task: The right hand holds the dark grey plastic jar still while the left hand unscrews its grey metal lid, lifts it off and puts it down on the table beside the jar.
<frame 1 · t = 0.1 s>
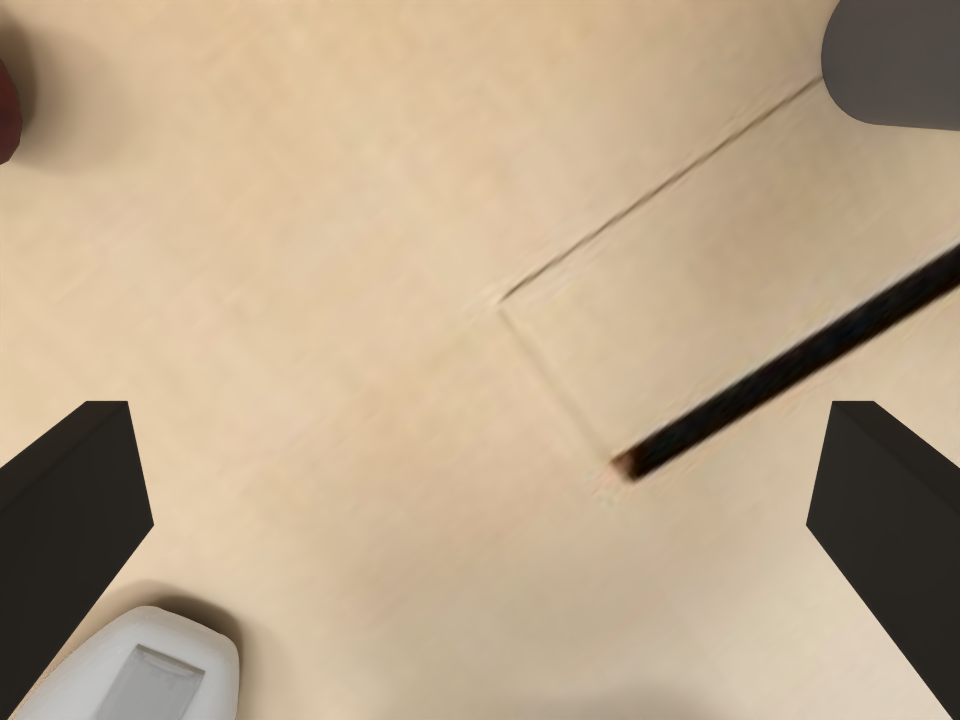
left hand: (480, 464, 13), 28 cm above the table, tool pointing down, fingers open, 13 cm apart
jar: (898, 43, 35), on the table
projector: (141, 704, 53), on the table
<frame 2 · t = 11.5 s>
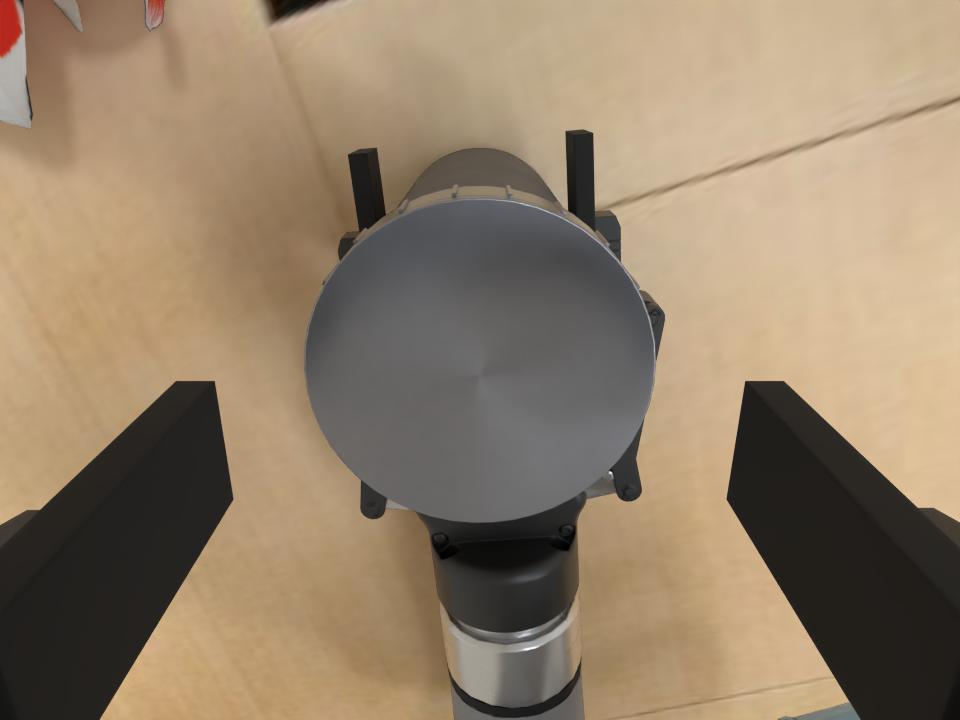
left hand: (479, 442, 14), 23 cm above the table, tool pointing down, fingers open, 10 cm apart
lid: (480, 370, 17), point 19 cm above the table, screwed on, not yet turned
jar: (480, 228, 35), on the table, touching right hand
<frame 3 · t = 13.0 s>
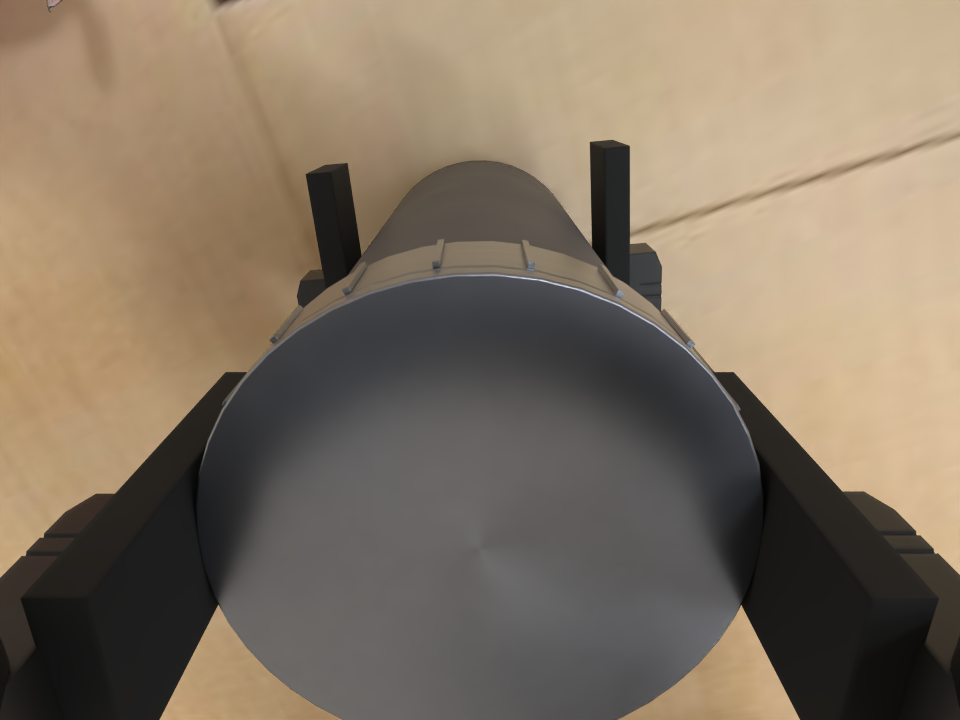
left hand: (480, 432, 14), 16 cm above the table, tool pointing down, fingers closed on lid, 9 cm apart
lid: (479, 534, 11), point 19 cm above the table, screwed on, not yet turned, touching left hand
jar: (479, 258, 29), on the table, touching right hand
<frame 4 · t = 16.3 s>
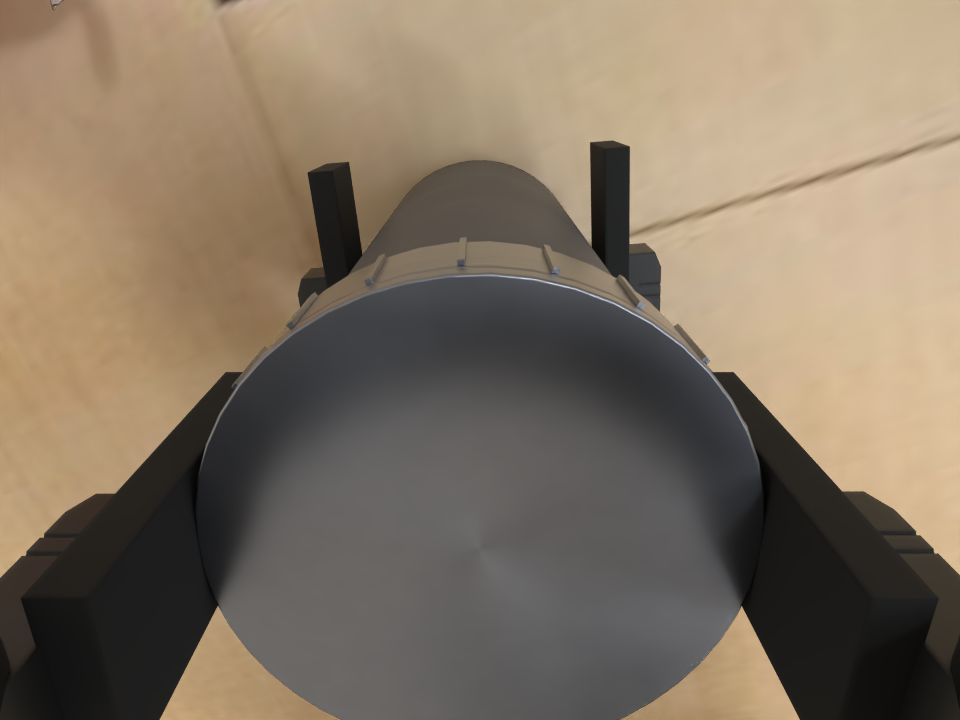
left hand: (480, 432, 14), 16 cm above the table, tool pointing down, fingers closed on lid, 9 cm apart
lid: (479, 535, 11), point 19 cm above the table, turned 99° so far, risen 0.1 cm, still on its thread, touching left hand
jar: (479, 258, 29), on the table, touching right hand
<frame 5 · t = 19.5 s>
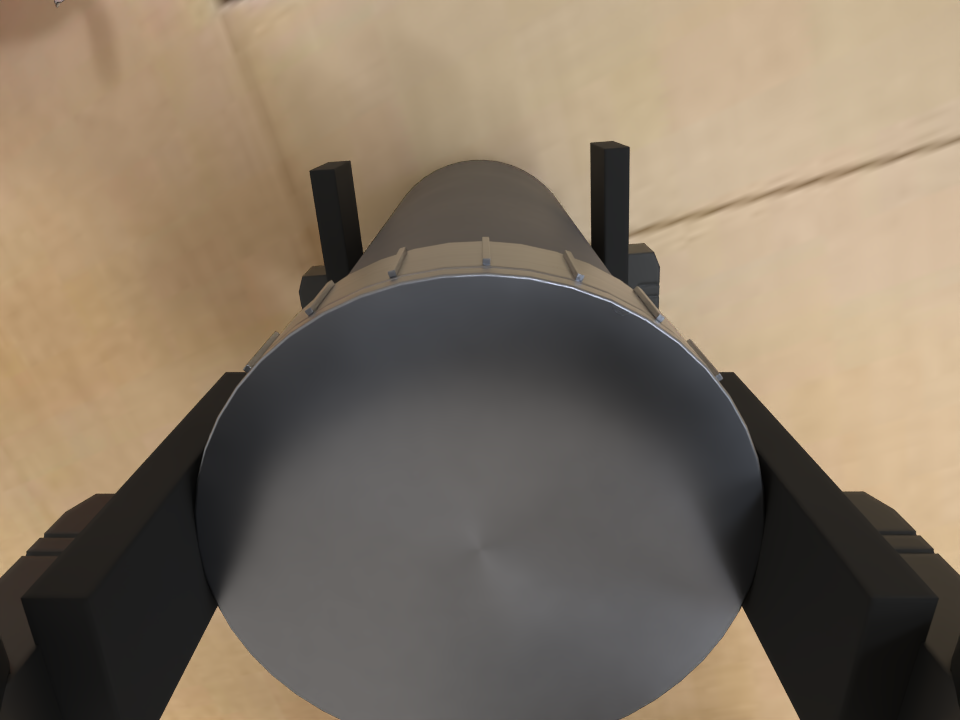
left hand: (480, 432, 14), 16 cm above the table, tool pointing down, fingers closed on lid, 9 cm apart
lid: (479, 535, 11), point 20 cm above the table, turned 197° so far, risen 0.3 cm, still on its thread, touching left hand
jar: (479, 257, 29), on the table, touching right hand
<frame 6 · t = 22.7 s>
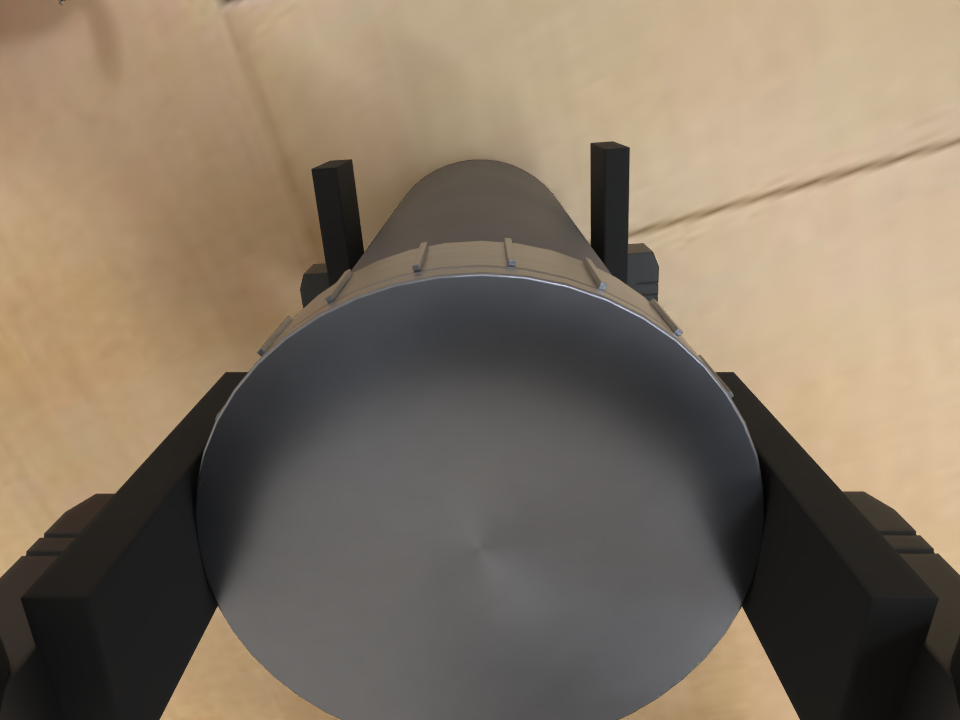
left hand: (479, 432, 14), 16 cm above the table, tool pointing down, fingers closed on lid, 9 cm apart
lid: (480, 535, 11), point 20 cm above the table, turned 296° so far, risen 0.4 cm, still on its thread, touching left hand
jar: (479, 256, 29), on the table, touching right hand
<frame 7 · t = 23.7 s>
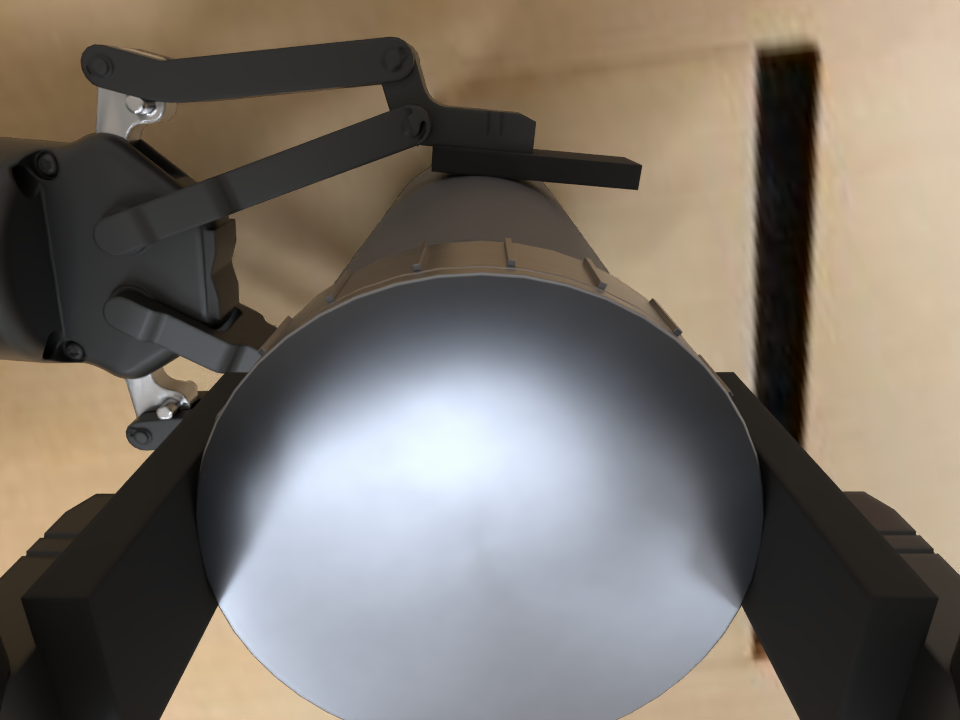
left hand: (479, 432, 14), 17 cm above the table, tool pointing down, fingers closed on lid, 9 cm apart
right hand: (609, 300, 24), fingers closed on jar, 8 cm apart
lid: (479, 534, 11), point 20 cm above the table, off its thread, touching left hand
jar: (476, 250, 30), on the table, touching right hand
when the left hand's fingers open (0 cm above the table, at t = 30.2 s): lid drops 2 cm, point 2 cm above the table.
when the right hand's fingers open (6 cm above the table, at t = 31.3 s): jar stays where it is, on the table.
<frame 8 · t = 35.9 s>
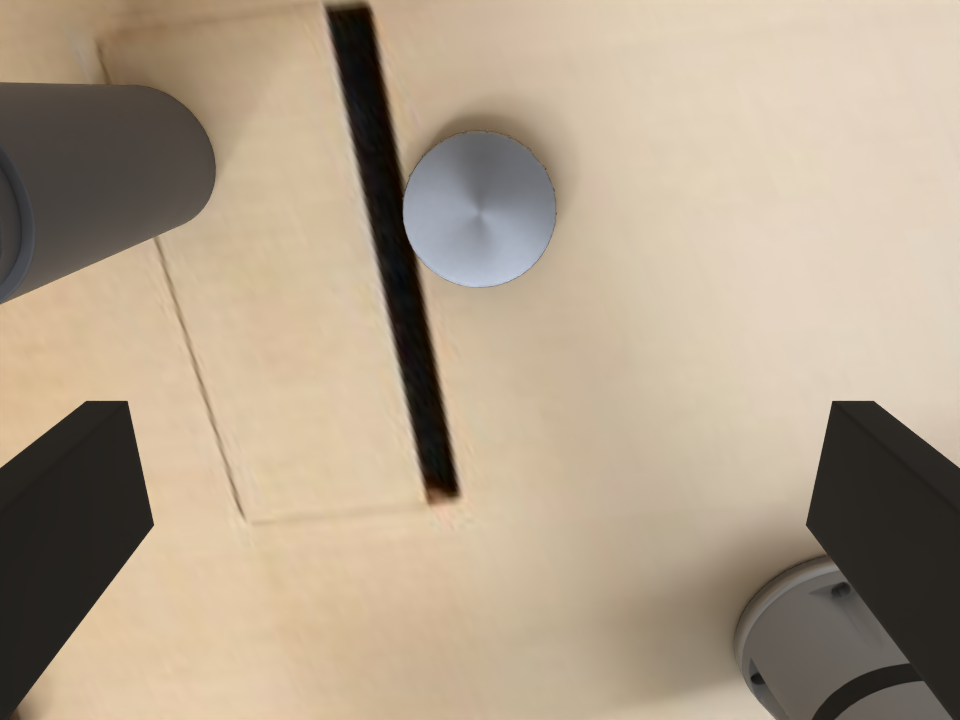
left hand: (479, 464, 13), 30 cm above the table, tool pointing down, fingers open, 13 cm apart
lid: (479, 212, 39), point 2 cm above the table, off its thread
jar: (146, 160, 39), on the table
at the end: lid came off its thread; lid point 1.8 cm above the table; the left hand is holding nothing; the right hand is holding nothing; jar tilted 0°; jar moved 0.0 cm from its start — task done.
